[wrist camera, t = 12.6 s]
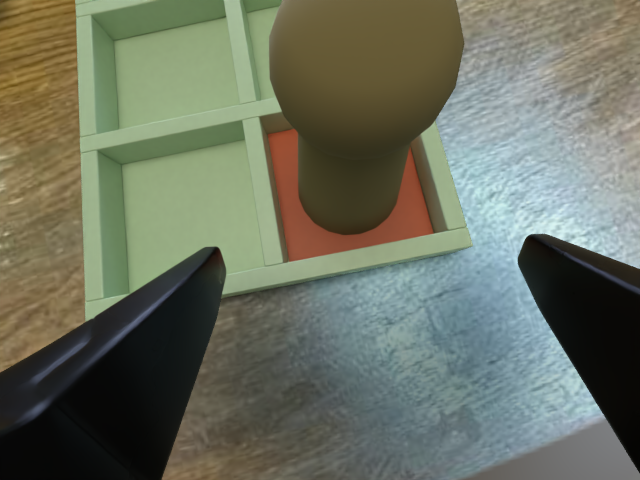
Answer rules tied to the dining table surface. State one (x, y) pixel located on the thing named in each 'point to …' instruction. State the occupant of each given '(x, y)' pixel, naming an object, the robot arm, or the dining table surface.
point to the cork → (360, 97)
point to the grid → (217, 158)
